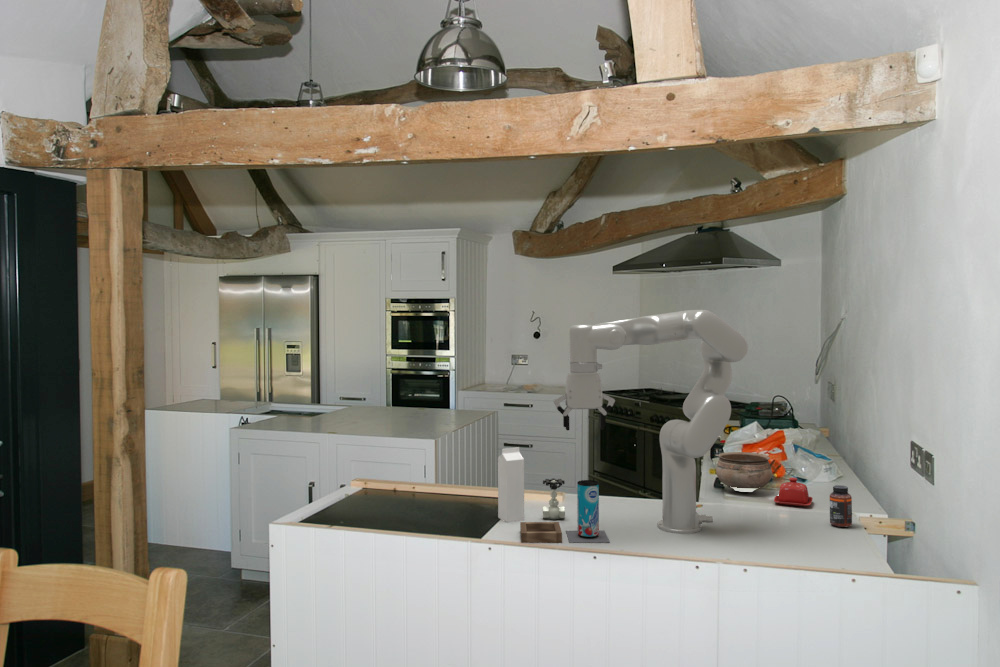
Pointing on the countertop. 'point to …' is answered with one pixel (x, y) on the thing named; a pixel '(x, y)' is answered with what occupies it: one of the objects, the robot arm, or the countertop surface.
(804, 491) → the butter dish
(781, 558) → the countertop surface
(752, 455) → the cooking pot
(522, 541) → the walnut socket block
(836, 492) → the supplement bottle
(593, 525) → the beverage can
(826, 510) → the countertop surface
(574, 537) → the charcoal rubber mat
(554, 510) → the valve
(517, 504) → the milk
